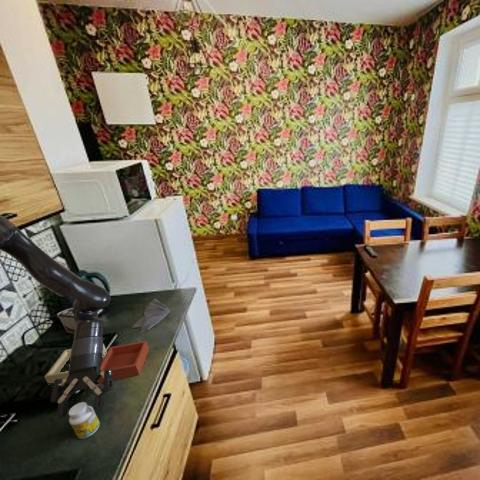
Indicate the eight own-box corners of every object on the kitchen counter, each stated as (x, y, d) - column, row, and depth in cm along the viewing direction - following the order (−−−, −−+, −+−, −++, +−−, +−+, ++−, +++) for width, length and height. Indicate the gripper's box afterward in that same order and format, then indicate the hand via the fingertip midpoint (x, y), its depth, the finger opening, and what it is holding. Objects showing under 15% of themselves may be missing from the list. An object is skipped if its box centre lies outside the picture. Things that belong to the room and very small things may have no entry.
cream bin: (49, 386, 93) (44, 376, 91) (69, 359, 104) (65, 349, 102) (92, 378, 96) (87, 368, 94) (107, 352, 107) (103, 343, 106)
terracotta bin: (99, 383, 95) (94, 373, 93) (113, 356, 106) (110, 347, 104) (139, 375, 98) (136, 365, 96) (149, 349, 109) (146, 340, 107)
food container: (100, 326, 122) (93, 308, 118) (87, 335, 116) (80, 317, 112) (78, 322, 124) (70, 304, 120) (64, 331, 118) (56, 313, 114)
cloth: (160, 330, 119) (159, 326, 118) (126, 334, 117) (125, 330, 116) (177, 297, 143) (176, 293, 142) (149, 300, 140) (148, 296, 139)
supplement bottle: (104, 420, 83) (94, 399, 79) (91, 439, 78) (80, 417, 74) (86, 421, 82) (75, 399, 79) (72, 439, 77) (60, 418, 74)
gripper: (50, 358, 77) (40, 423, 72) (107, 348, 81) (102, 409, 75) (67, 358, 84) (59, 417, 78) (119, 349, 88) (115, 404, 82)
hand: (80, 413), depth 77 cm, fingers open, 8 cm apart
